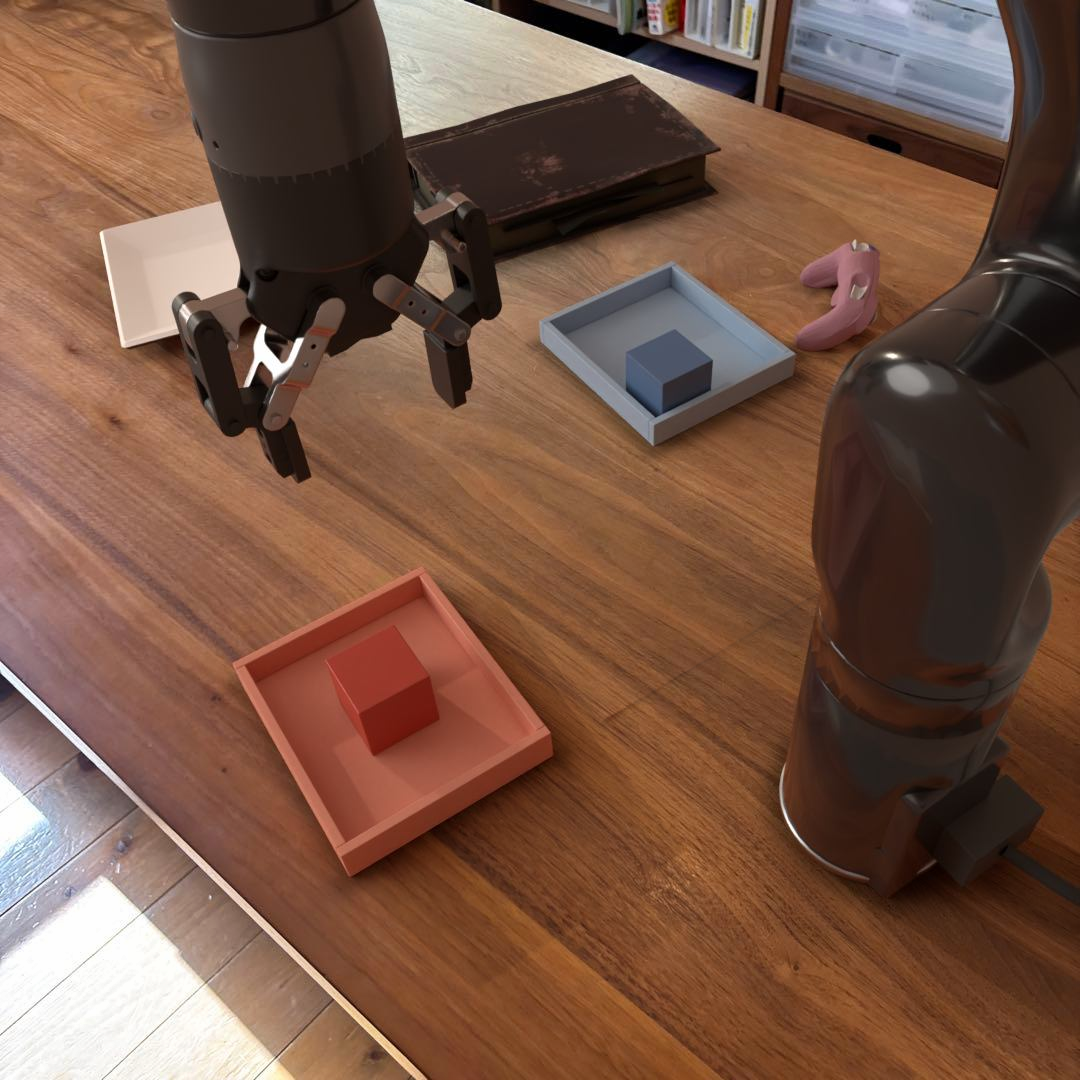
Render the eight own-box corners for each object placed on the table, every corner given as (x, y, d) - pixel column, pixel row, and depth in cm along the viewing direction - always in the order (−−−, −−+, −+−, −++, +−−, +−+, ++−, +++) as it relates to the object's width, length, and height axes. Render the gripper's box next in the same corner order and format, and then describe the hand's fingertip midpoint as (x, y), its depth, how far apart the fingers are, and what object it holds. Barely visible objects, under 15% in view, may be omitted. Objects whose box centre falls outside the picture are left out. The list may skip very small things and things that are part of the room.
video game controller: (838, 374, 87) (894, 312, 82) (788, 350, 86) (841, 285, 81) (841, 299, 93) (893, 237, 88) (795, 275, 93) (844, 211, 87)
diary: (399, 182, 107) (390, 133, 104) (628, 115, 113) (628, 67, 109) (470, 281, 96) (464, 231, 92) (722, 201, 102) (726, 150, 98)
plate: (106, 248, 103) (98, 229, 101) (302, 199, 106) (297, 180, 105) (129, 366, 91) (120, 346, 89) (349, 306, 95) (344, 286, 93)
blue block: (710, 407, 83) (713, 359, 79) (661, 431, 81) (662, 384, 78) (673, 375, 85) (674, 328, 82) (625, 399, 84) (625, 352, 80)
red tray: (553, 755, 64) (551, 732, 62) (350, 877, 60) (341, 856, 58) (427, 589, 73) (422, 565, 71) (242, 686, 69) (231, 662, 67)
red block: (440, 719, 66) (430, 676, 63) (372, 756, 64) (358, 714, 61) (405, 668, 69) (393, 623, 65) (339, 702, 67) (324, 659, 64)
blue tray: (792, 379, 85) (796, 353, 83) (653, 450, 81) (653, 425, 79) (671, 285, 94) (672, 260, 92) (540, 345, 89) (538, 320, 88)
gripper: (157, 226, 37) (275, 546, 49) (510, 92, 42) (539, 413, 54) (87, 142, 42) (211, 454, 54) (413, 29, 47) (460, 339, 59)
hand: (376, 433), depth 54 cm, fingers open, 8 cm apart
